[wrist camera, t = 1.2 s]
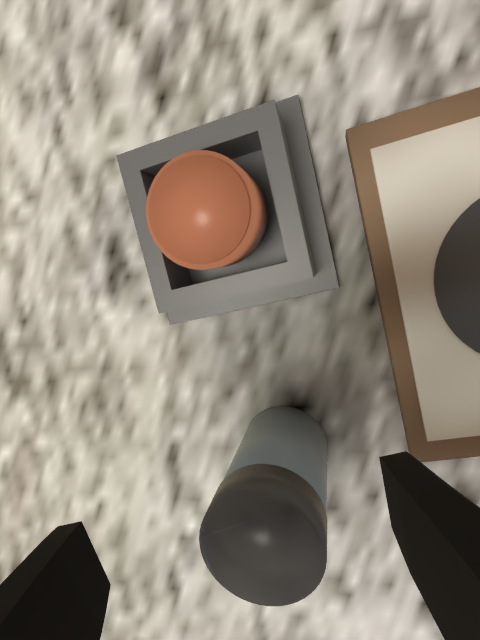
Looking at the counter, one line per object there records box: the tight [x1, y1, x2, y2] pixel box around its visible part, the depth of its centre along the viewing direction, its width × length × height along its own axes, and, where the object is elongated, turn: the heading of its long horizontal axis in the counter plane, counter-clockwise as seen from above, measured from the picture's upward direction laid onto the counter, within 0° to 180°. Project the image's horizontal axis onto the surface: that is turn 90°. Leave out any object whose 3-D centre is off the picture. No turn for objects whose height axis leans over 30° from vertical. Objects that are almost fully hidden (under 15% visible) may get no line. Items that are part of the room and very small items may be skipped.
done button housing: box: [117, 95, 339, 325], centre depth 17 cm, size 8×8×3 cm
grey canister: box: [199, 406, 328, 606], centre depth 16 cm, size 4×4×7 cm
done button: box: [146, 150, 267, 270], centre depth 15 cm, size 4×4×2 cm
